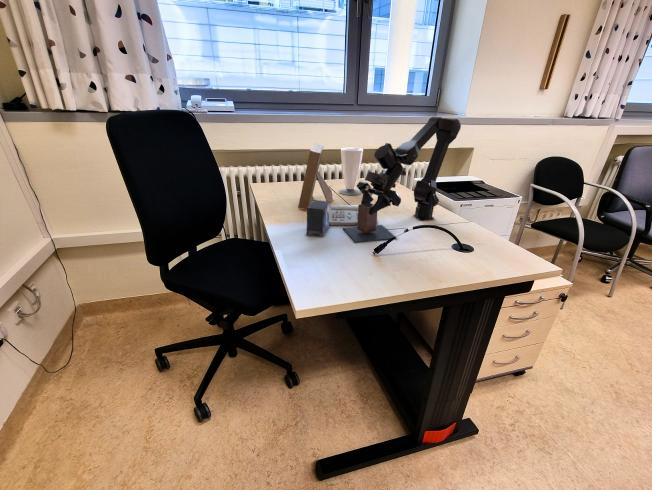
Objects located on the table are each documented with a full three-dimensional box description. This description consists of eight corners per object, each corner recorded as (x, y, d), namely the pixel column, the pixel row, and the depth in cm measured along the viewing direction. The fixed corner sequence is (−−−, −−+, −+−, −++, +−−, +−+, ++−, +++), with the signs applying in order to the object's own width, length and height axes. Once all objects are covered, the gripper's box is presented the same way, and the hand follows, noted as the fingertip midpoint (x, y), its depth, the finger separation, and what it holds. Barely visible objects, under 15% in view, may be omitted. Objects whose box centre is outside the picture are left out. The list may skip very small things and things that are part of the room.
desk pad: (381, 225, 135) (381, 224, 135) (396, 238, 123) (396, 237, 123) (343, 229, 131) (343, 228, 131) (354, 242, 119) (354, 241, 119)
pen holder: (366, 226, 130) (368, 202, 125) (375, 230, 126) (378, 205, 122) (357, 229, 127) (358, 204, 122) (365, 233, 124) (367, 207, 119)
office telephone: (329, 202, 153) (373, 203, 153) (329, 208, 154) (372, 209, 154) (327, 218, 133) (377, 220, 133) (326, 225, 134) (377, 226, 134)
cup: (338, 189, 183) (339, 147, 172) (359, 189, 184) (361, 147, 174) (340, 195, 173) (342, 150, 163) (362, 195, 174) (365, 150, 164)
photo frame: (298, 209, 151) (296, 150, 138) (303, 196, 169) (302, 143, 157) (331, 210, 150) (332, 151, 138) (333, 197, 169) (334, 144, 157)
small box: (323, 237, 123) (323, 209, 118) (306, 235, 124) (305, 207, 119) (329, 227, 132) (330, 200, 127) (313, 226, 133) (313, 199, 128)
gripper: (361, 158, 123) (337, 193, 123) (399, 167, 111) (371, 205, 110) (375, 177, 131) (352, 210, 131) (412, 188, 119) (386, 224, 118)
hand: (364, 212), depth 122 cm, fingers closed on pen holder, 5 cm apart
